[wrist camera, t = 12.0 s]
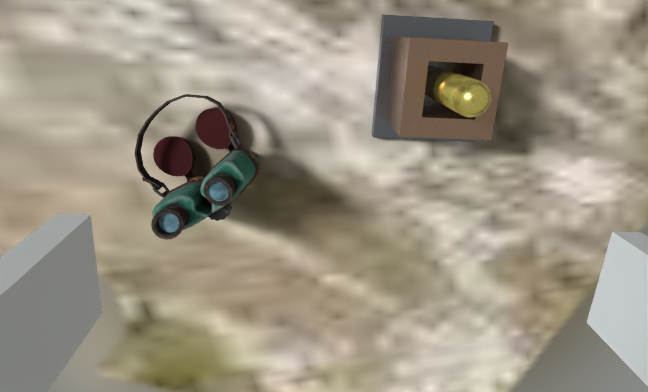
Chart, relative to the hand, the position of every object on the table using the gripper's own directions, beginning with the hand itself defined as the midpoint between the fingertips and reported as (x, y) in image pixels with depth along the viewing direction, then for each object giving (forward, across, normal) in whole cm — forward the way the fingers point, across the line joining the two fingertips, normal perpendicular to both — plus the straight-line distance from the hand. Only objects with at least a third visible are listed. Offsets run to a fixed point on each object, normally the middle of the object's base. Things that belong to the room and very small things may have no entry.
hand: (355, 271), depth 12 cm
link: (+30, +10, +2) cm, 31 cm away
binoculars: (+31, -10, -5) cm, 33 cm away
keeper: (+31, +10, +2) cm, 32 cm away
